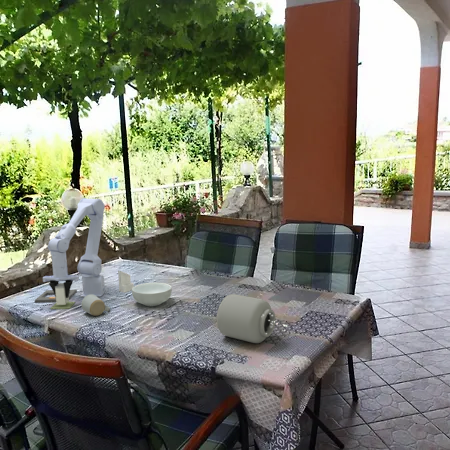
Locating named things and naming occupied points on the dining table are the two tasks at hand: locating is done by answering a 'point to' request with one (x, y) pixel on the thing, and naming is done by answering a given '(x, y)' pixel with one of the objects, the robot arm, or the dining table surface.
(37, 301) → the grey square frame
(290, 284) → the dining table surface
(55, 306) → the rubber mat
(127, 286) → the white wedge bracket
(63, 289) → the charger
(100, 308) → the ceramic mug
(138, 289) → the cereal bowl
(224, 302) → the jar
